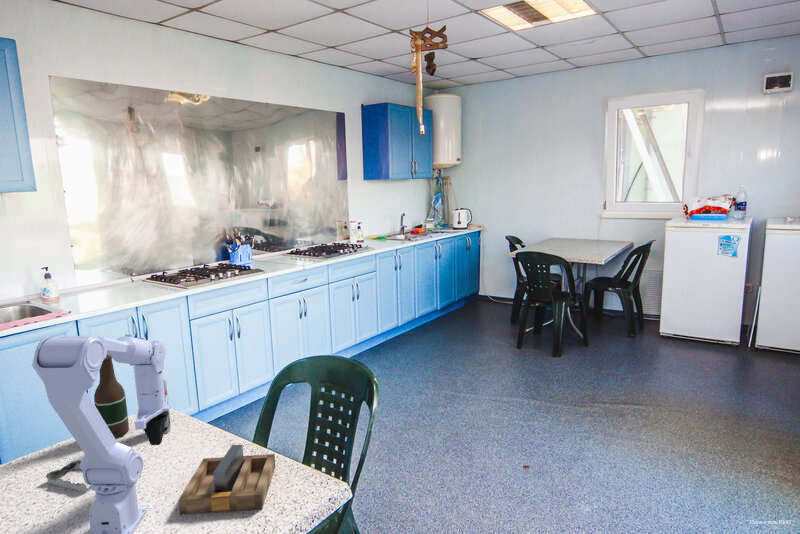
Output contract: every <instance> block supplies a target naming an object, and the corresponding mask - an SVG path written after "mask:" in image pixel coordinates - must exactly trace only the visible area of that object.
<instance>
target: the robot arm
mask: <svg viewBox="0 0 800 534" xmlns="http://www.w3.org/2000/svg"><path fill="white" fill-rule="evenodd" d="M106 355H109V356H111V357H112V361H115V362H116V363H120V364H128V365H129V366H130V367H133V368H134V378H135V384H136V387H135V388H136V394H137V403H138V404H137V406H138V410H137V414H136V415H137V416H136V419H135V420H134V429H135V430H143V431H144V433H145V435H146V437H147V440H148V442H149V444H150V446H160V445H161V444H162V442H163V437H164V435H163V431H164V425H165V422H166V419H167V416H168V414H169V415H170V410H171V408H172V405H171V404H169V403H170V400H169V399H170V397H169V395H168V394H167V395H165V394H164V384H163V380H164V376H163V370H164V368H165V357H166V347H165V345H164V343H162V342H160V340H147V338H146V337H144V336H143V337H142V336H141V337H140V336H139V337H138V338H137V337H135V334H131V333H125V334H124V335H123V336H120V337H118V338H116V339H114V338H110V337H107V336H102V335H73V336H72V335H71V336H59V337H54V336H47V337H43V338H42V339H41V340H40V341H39V343H38V344H37V346H36V348H35V352H34V356H33V360H32V365H31V366H32V367H33V369H34V370H35V372H36V374H37V376H38V377H39V379H40V380H41V381H42V383H43V384H44V388H45V392H46V396H47V399H48V402H49V404H50V406H51V407H52V408H53V410H54V411H55V412H56V415H57V416H58V417H59V418H60V420H61V421H62V423H63V425H65V427H66V428H67V430H68V432H69V433H70V434H71V436H72V437H73V438H74V441H76V444H77V445H78V446H79V447H80V449H81V451H82V452H83V454H84V455H83V456H82V458H81V459H80V460H81V463H80V468H81V469H80V470H81V472H82V478H83V480H84V481H83V482H84V484H85V485H86V486H91V488H92V489H91V491H94V492H95V496H94V497H95V498H94V501H93V503H92V505H91V507H90V509H89V510H88V519H89V527H90V528H89V529H90V534H132V533H133V532H134V530H135V529H136V528H137V526H138V525H139V523H140V521H141V520H142V519H143V517H144V516H145V514H146V512H147V511H148V508H147V507H144V508H141V507H140V508H139V502H138V494H137V485H136V483H137V482H138V481H139V480H140V478H141V476H142V474H143V470H144V459H143V456H142V455H141V454H140V453H139V452H136V451H135V450H134V449H133V447H131V446H128V445H126V444H123V443H121V442H119V441H117V439H115V438H114V436H113V434H112V433H111V431H110V430H109V428H108V426H107V425H106V423H105V421H104V420H103V418H102V416H101V415H100V413H99V411H98V410H97V408H96V407H95V403H94V402H93V400H92V398H91V396H90V395H89V393H88V392H87V391H88V390H89V389H92V387H94V385H95V383H96V380H97V378H98V376H99V374H100V373H99V370H100V368H101V365H102V362H103V360H104V359H106ZM167 404H168V405H167ZM168 411H169V413H168Z"/></svg>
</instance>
